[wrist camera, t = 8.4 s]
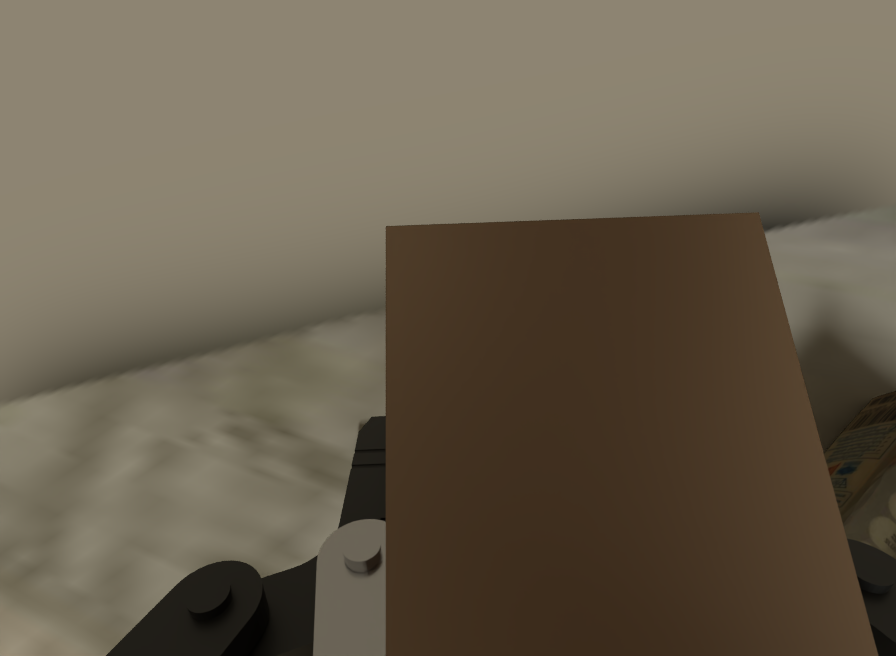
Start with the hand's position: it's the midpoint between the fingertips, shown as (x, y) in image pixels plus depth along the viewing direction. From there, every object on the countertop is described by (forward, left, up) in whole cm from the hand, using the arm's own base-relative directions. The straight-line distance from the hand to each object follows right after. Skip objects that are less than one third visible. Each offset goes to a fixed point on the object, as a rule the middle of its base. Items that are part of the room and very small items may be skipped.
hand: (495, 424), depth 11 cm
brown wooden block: (0, +2, -5) cm, 6 cm away
